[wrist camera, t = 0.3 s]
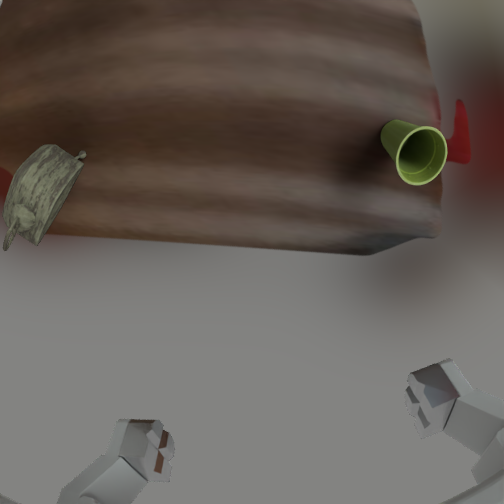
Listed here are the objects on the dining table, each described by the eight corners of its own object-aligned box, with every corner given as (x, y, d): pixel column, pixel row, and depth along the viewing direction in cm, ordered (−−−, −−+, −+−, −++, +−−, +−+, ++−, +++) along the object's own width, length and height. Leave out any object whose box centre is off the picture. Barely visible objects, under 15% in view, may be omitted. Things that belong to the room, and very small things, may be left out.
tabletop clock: (66, 200, 58) (17, 282, 39) (36, 179, 53) (-23, 255, 34) (95, 150, 52) (37, 225, 33) (61, 127, 47) (-11, 192, 28)
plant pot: (417, 155, 59) (444, 180, 50) (371, 163, 60) (395, 190, 51) (417, 106, 51) (449, 124, 42) (368, 111, 52) (396, 130, 43)
